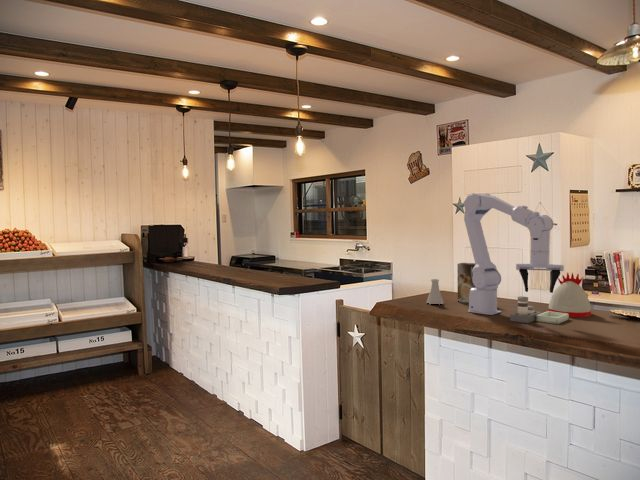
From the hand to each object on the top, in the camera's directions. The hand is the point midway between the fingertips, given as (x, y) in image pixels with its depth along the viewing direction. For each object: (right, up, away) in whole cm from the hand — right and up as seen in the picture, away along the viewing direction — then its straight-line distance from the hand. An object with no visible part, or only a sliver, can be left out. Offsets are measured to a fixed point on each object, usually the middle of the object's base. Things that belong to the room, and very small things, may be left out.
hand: (538, 291), depth 167 cm
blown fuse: (-4, -10, +3) cm, 11 cm away
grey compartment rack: (-3, -10, +4) cm, 11 cm away
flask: (-27, -9, +36) cm, 46 cm away
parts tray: (+6, -10, +3) cm, 12 cm away
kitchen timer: (+18, -10, +15) cm, 25 cm away
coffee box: (-11, -9, +40) cm, 42 cm away
